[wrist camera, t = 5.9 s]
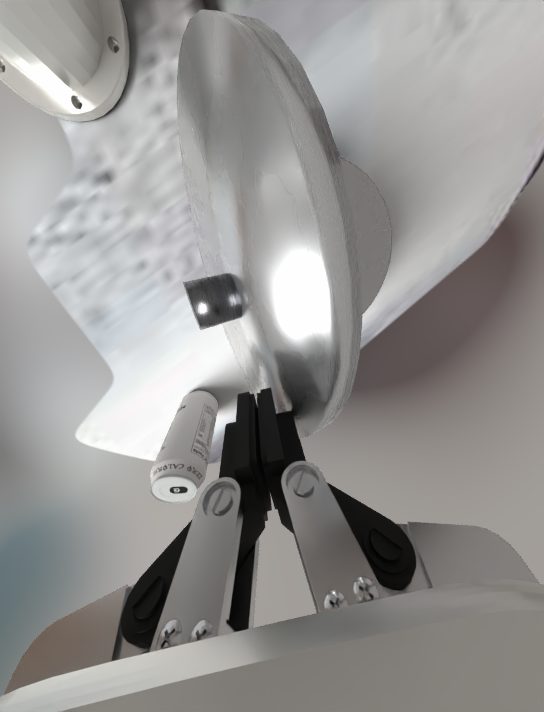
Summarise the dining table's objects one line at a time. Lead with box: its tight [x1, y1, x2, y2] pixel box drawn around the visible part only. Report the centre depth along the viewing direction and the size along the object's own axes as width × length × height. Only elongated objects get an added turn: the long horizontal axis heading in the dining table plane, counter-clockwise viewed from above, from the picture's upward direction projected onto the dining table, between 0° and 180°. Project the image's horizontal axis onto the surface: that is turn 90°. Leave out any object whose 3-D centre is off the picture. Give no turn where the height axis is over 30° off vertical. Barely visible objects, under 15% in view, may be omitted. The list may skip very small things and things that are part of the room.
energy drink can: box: [150, 390, 218, 504], centre depth 29 cm, size 6×6×15 cm
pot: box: [340, 158, 392, 314], centre depth 23 cm, size 21×18×8 cm
